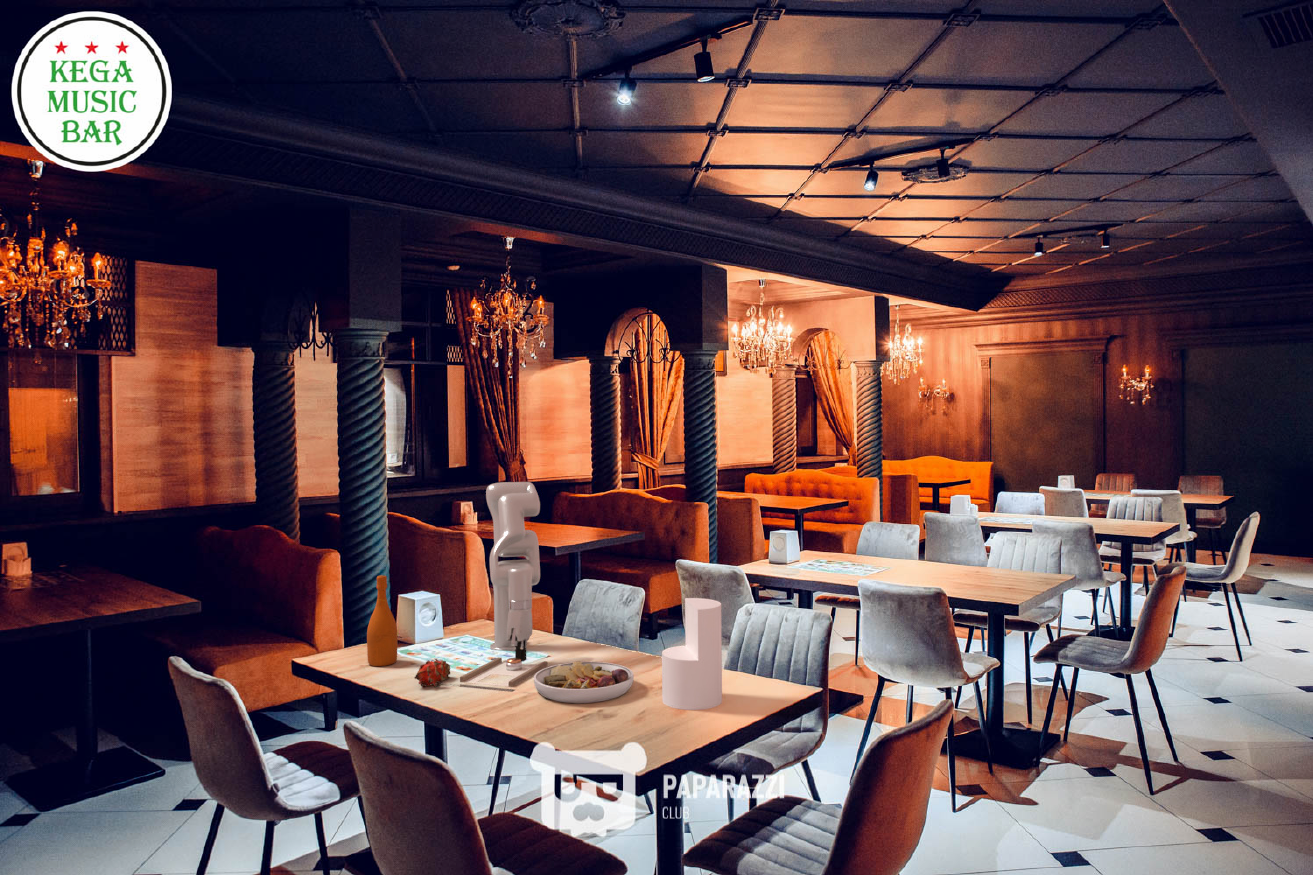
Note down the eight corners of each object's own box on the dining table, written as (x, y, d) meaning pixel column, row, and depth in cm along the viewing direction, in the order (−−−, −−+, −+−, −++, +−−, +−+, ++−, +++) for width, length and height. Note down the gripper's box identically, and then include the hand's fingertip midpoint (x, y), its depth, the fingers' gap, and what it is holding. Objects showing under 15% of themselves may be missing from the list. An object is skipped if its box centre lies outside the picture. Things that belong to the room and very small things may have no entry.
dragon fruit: (454, 686, 268) (418, 699, 261) (443, 666, 273) (407, 678, 266) (458, 668, 264) (421, 681, 256) (446, 648, 268) (410, 660, 261)
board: (498, 666, 285) (498, 657, 285) (547, 670, 280) (547, 661, 279) (459, 686, 263) (459, 676, 262) (512, 691, 257) (512, 681, 257)
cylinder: (714, 689, 257) (713, 596, 257) (728, 707, 240) (727, 608, 240) (657, 693, 254) (656, 599, 254) (668, 711, 237) (667, 611, 237)
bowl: (515, 700, 249) (515, 674, 249) (561, 673, 277) (561, 649, 277) (610, 711, 239) (609, 683, 239) (648, 681, 267) (647, 656, 267)
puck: (510, 666, 280) (510, 656, 280) (524, 667, 278) (524, 658, 278) (503, 670, 275) (503, 660, 275) (517, 671, 274) (517, 662, 274)
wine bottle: (403, 661, 292) (402, 574, 292) (380, 668, 284) (379, 578, 284) (384, 658, 297) (383, 572, 297) (361, 664, 289) (360, 576, 289)
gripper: (520, 600, 289) (521, 654, 289) (499, 608, 275) (499, 665, 275) (540, 601, 287) (541, 655, 287) (520, 609, 273) (520, 667, 273)
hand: (520, 660), depth 281 cm, fingers closed
